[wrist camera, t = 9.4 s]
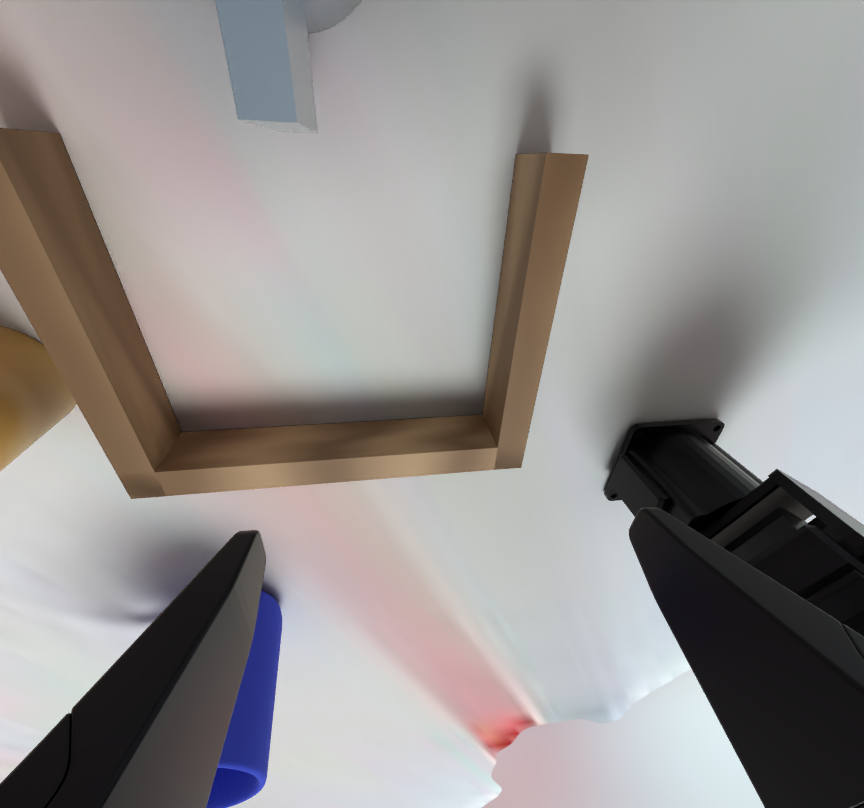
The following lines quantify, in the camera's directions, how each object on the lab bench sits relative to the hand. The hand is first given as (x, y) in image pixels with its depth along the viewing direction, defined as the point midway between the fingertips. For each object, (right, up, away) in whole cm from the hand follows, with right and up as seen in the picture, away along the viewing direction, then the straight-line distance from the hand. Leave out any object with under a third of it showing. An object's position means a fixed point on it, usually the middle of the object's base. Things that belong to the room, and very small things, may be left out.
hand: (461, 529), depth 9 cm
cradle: (-5, +7, +8) cm, 12 cm away
